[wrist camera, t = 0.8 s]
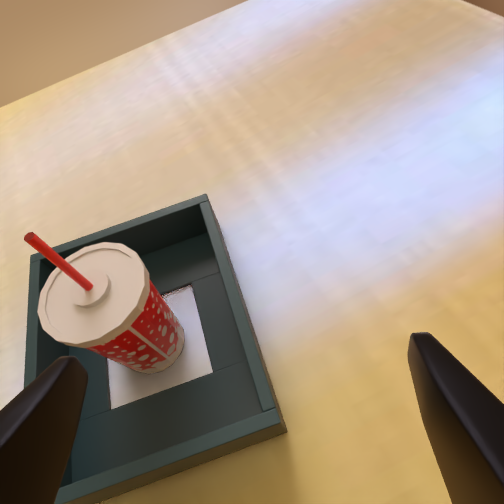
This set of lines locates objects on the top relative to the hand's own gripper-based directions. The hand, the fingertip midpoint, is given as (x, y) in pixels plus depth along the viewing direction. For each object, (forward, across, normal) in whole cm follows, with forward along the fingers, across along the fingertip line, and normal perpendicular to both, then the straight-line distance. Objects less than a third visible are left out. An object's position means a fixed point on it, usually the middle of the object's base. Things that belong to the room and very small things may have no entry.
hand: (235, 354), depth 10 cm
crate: (+11, +10, +13) cm, 19 cm away
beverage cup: (+11, +10, +13) cm, 20 cm away
